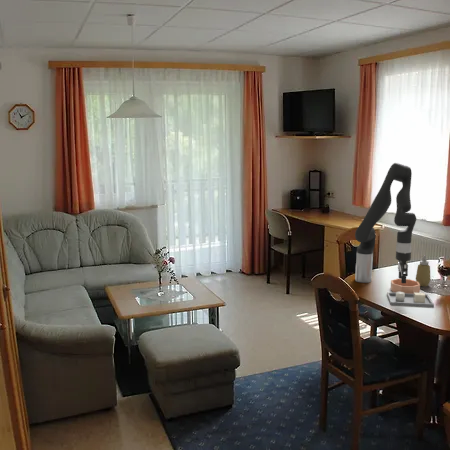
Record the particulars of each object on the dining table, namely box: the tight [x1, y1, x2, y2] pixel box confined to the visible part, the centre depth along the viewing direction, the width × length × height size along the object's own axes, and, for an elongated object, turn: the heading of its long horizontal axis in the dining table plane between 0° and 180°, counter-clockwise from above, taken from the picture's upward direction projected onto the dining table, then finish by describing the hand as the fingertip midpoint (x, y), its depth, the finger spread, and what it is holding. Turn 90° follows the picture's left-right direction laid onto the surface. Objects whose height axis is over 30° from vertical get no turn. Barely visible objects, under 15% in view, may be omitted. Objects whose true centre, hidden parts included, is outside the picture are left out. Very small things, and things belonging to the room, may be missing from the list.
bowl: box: [390, 278, 421, 294], centre depth 284 cm, size 15×15×5 cm
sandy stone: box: [413, 292, 426, 303], centre depth 266 cm, size 5×4×4 cm
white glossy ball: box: [395, 292, 405, 302], centre depth 267 cm, size 4×4×4 cm
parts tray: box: [386, 291, 435, 308], centre depth 267 cm, size 21×16×2 cm
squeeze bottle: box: [415, 254, 431, 287], centre depth 293 cm, size 8×8×18 cm
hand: (402, 280), depth 266 cm, fingers open, 8 cm apart
